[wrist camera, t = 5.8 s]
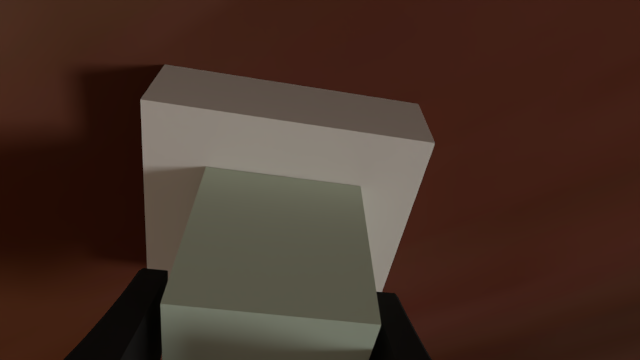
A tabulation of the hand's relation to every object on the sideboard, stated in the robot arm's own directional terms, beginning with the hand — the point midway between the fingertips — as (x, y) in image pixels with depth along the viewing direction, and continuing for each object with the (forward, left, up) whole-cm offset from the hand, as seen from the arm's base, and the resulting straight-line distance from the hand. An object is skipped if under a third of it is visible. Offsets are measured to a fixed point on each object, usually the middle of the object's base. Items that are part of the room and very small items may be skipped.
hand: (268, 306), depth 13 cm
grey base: (0, 0, -6) cm, 6 cm away
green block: (0, 0, -3) cm, 3 cm away
